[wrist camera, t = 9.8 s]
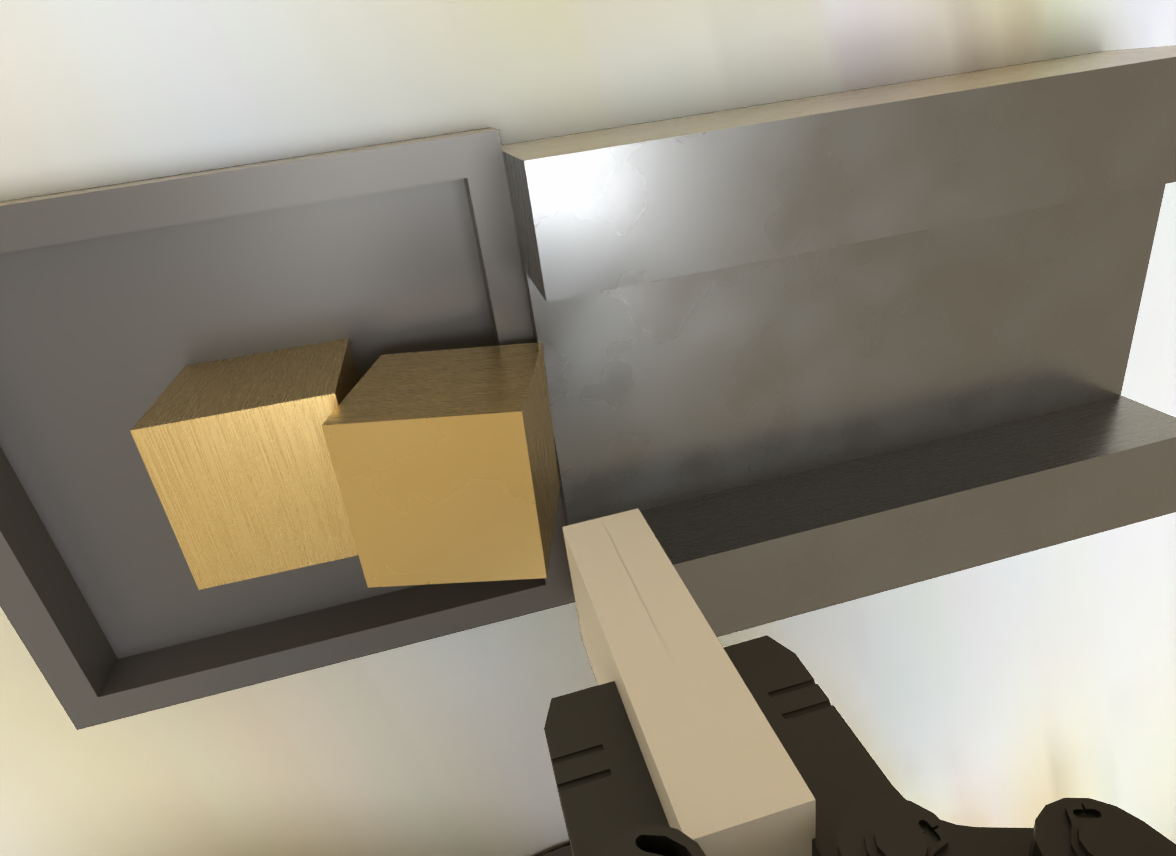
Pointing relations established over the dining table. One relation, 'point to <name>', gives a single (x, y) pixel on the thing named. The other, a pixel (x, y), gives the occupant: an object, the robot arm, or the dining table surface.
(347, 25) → the dining table surface
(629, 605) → the robot arm
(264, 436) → the brass block
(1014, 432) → the slot plate
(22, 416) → the tray
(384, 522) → the brass block
